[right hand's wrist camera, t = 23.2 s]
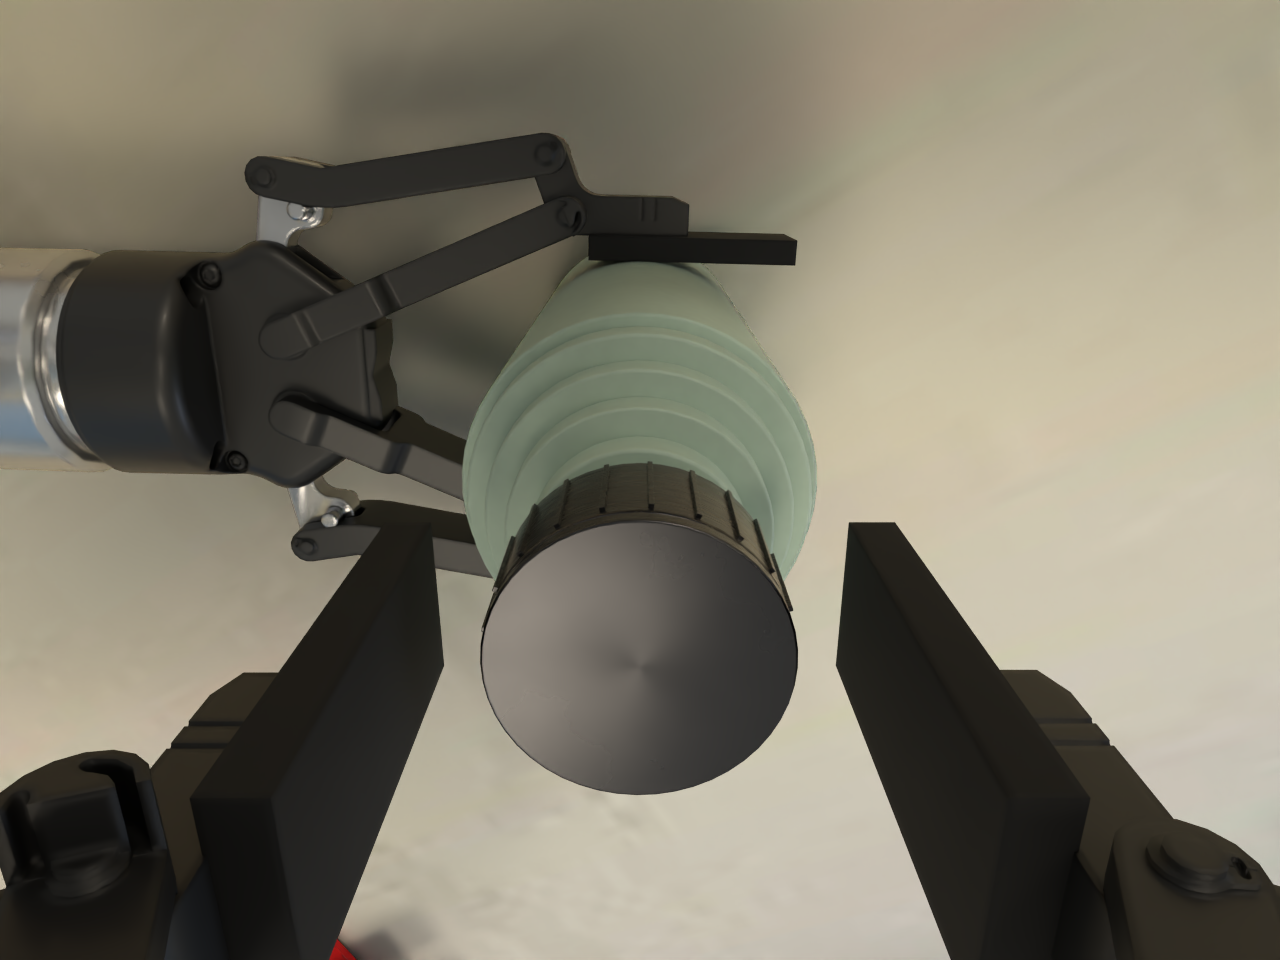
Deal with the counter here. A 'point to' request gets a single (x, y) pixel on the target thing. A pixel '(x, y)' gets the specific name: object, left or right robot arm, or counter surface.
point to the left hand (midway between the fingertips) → (778, 378)
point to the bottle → (639, 404)
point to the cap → (639, 632)
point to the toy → (340, 953)
